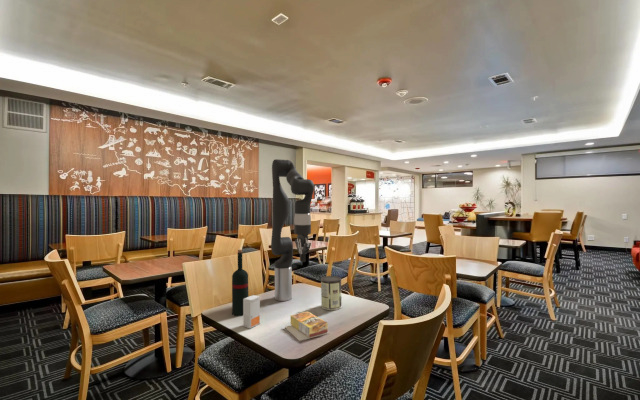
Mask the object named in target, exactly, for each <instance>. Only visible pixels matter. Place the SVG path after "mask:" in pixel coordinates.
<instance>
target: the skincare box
mask: <svg viewBox="0 0 640 400" xmlns="http://www.w3.org/2000/svg"><path fill="white" fill-rule="evenodd" d="M260 313H261V296H259V295H250V296H249V295H248V297H247V298H244V299H243V316H242V317H243V318H242V319H243V321H242V322H243V323H242V324H243V327H244V328H248V329H252V328H254V327H256V326H258V325H260V324H261V315H260Z"/></svg>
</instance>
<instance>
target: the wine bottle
mask: <svg viewBox="0 0 640 400" xmlns="http://www.w3.org/2000/svg"><path fill="white" fill-rule="evenodd" d="M231 297H232V298H231V299H232V300H231V309H232V310H231V313H232V314H231V315H232V316H236V317H243V299H244V298H247V297H249V274H248V272H247V271H246V270H245V269H243V249H237V269H236V270H235V271H234V272H233V273H232V275H231Z"/></svg>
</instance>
